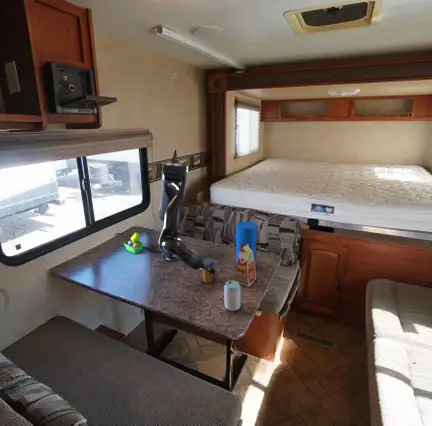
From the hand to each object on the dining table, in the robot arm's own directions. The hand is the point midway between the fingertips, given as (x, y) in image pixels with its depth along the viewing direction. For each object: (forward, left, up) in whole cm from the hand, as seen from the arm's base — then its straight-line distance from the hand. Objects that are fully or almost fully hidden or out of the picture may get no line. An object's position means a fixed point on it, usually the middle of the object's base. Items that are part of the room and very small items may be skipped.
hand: (210, 270), depth 147 cm
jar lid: (0, -2, +6) cm, 6 cm away
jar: (0, -2, -5) cm, 5 cm away
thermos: (+6, +22, -5) cm, 24 cm away
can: (+23, -9, -5) cm, 26 cm away
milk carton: (+14, +11, -5) cm, 19 cm away
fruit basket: (-59, -10, -5) cm, 60 cm away
